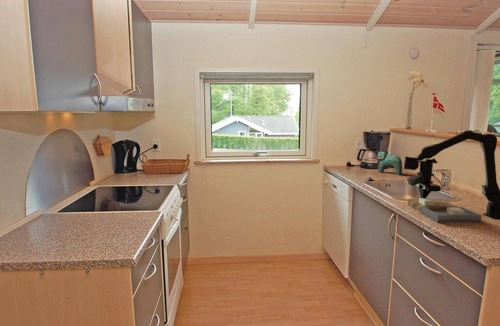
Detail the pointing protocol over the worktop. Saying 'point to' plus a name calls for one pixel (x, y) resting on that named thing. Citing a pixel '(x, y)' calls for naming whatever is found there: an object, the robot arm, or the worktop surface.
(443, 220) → the box
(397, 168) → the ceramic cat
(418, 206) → the walnut plate
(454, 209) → the white tile
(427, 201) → the sage tile
